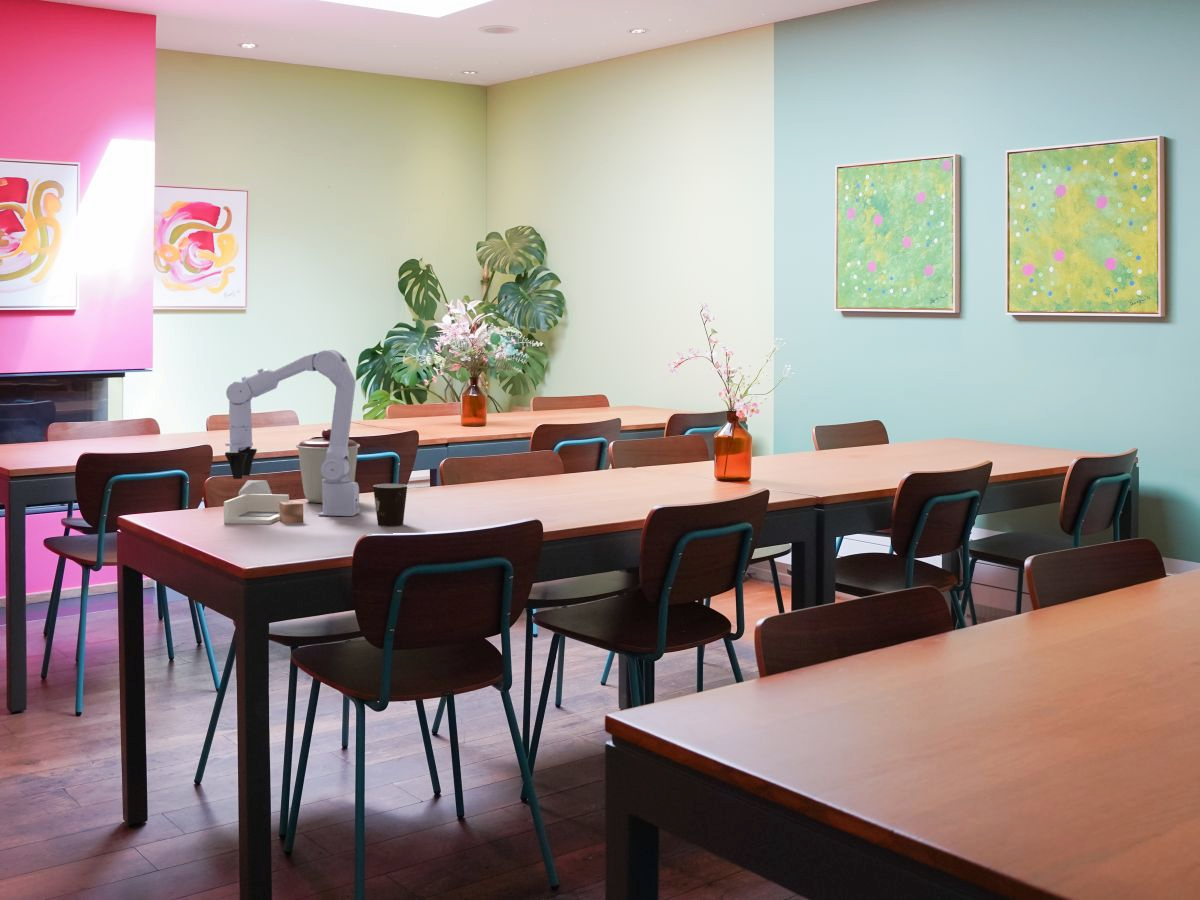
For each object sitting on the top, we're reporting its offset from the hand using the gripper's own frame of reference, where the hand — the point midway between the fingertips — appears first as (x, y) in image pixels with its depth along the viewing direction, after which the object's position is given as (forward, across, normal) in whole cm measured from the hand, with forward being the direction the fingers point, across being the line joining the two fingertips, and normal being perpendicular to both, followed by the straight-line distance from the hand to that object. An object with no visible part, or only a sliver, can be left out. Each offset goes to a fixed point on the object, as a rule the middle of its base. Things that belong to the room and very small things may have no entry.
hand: (241, 477), depth 337 cm
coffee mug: (+10, +19, +42) cm, 48 cm away
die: (+10, -8, +2) cm, 13 cm away
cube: (+10, +13, +16) cm, 23 cm away
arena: (+10, +10, +6) cm, 15 cm away
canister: (+10, -26, +18) cm, 33 cm away
